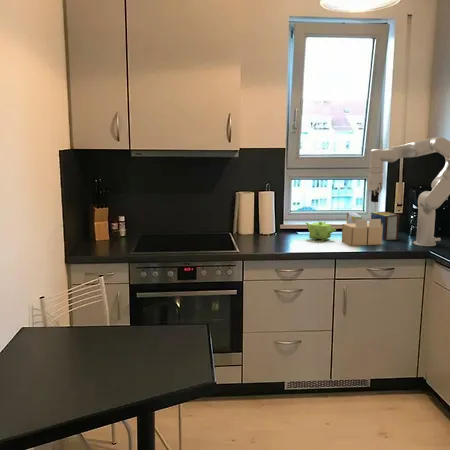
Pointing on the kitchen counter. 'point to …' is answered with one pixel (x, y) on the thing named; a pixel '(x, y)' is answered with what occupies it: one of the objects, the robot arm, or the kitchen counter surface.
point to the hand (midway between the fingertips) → (374, 201)
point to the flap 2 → (375, 232)
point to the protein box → (388, 224)
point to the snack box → (352, 217)
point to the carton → (351, 233)
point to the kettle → (320, 231)
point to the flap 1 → (360, 233)
